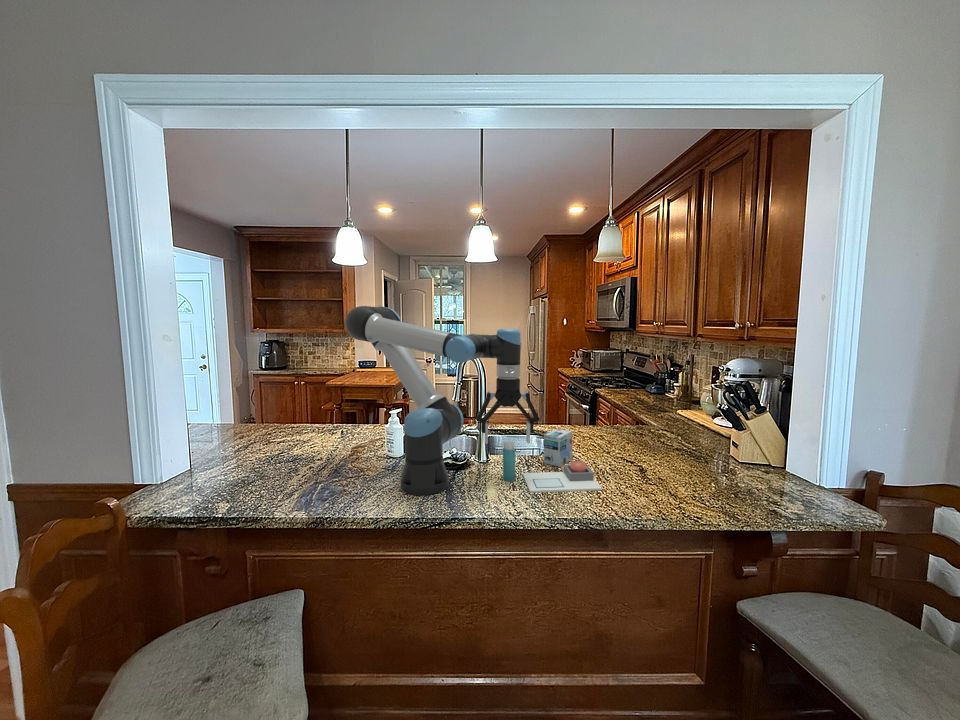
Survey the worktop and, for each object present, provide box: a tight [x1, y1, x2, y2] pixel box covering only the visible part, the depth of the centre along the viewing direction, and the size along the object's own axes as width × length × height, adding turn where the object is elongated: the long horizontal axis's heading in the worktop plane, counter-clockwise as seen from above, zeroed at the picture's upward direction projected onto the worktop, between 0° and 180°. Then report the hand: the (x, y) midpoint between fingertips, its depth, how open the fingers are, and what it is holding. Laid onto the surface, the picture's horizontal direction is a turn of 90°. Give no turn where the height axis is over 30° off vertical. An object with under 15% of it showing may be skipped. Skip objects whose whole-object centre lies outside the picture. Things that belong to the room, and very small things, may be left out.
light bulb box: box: [543, 428, 573, 468], centre depth 145 cm, size 11×7×11 cm, turn 143°
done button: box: [569, 460, 587, 473], centre depth 129 cm, size 5×5×3 cm
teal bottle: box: [502, 441, 516, 482], centre depth 129 cm, size 4×4×12 cm
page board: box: [522, 464, 603, 494], centre depth 126 cm, size 22×14×3 cm, turn 93°
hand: (507, 442), depth 128 cm, fingers open, 13 cm apart
